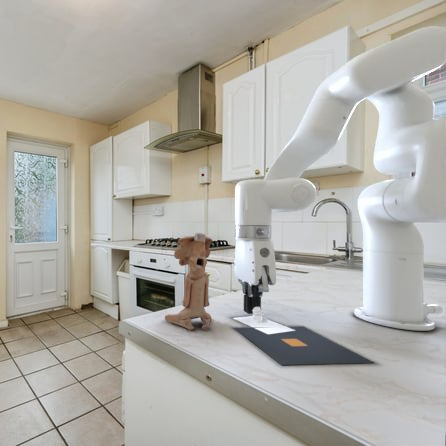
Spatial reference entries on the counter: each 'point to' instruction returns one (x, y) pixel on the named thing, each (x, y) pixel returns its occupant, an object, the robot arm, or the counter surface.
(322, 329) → the counter surface
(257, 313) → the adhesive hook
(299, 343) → the centre mat
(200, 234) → the figurine
